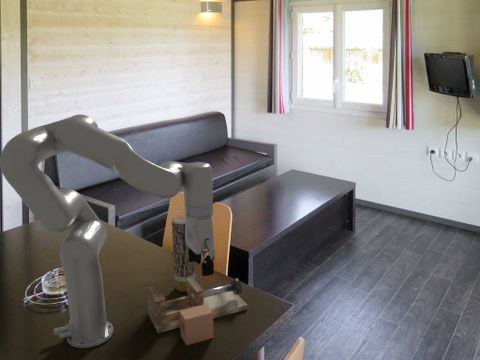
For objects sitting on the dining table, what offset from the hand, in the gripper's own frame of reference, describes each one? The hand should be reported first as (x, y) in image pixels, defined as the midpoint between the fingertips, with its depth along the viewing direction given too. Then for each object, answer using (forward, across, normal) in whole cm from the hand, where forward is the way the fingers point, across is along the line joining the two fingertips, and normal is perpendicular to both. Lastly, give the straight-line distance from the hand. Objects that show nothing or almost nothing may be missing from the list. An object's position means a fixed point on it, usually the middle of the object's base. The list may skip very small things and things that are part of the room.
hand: (201, 267), depth 125 cm
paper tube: (+20, -26, +4) cm, 33 cm away
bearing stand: (+20, -10, +2) cm, 22 cm away
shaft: (+17, -10, +8) cm, 21 cm away
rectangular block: (+20, +2, -3) cm, 20 cm away
